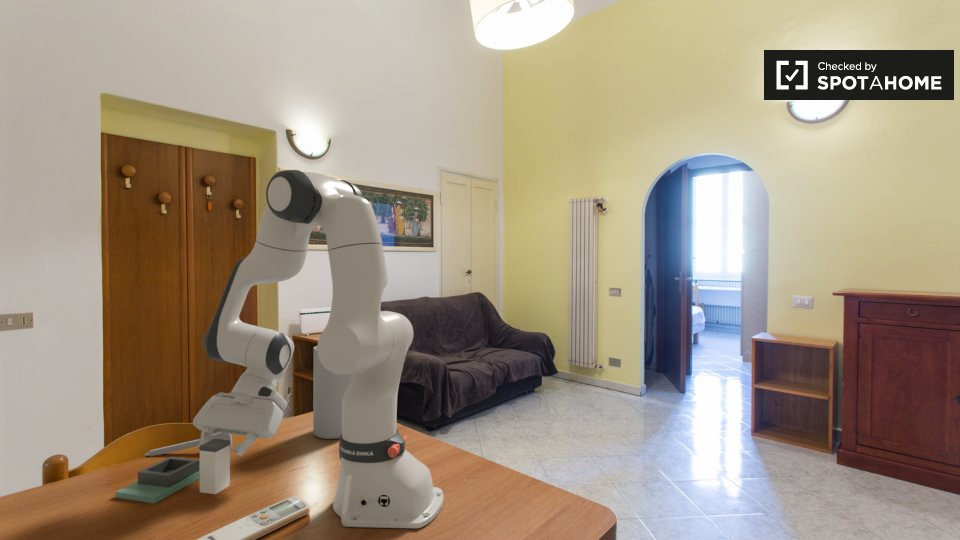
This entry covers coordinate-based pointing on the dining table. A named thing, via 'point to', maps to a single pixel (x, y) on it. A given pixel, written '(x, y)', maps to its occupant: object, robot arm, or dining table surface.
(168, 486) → the socket
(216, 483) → the plug
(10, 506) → the dining table surface
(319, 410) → the cylinder vase
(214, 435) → the caliper
